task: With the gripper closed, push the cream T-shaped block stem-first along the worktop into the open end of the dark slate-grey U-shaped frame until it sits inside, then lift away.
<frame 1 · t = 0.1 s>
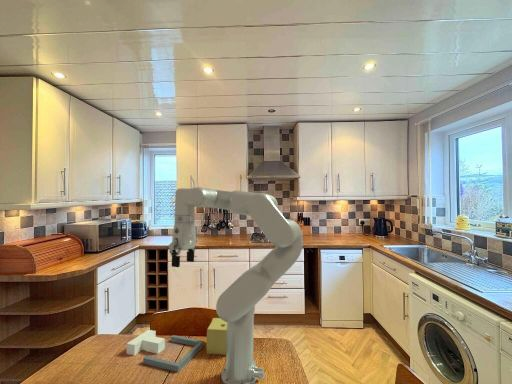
hand: (183, 264, 96), 37 cm above the table, tool pointing down, fingers open, 9 cm apart
t block: (149, 348, 103), on the table
cheese: (220, 348, 104), on the table
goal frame: (173, 353, 99), on the table
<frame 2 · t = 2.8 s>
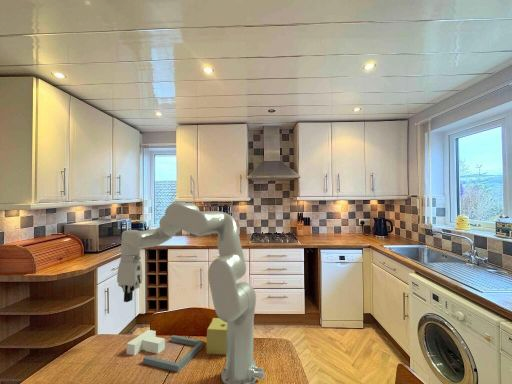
hand: (128, 300, 108), 18 cm above the table, tool pointing down, fingers closed
nothing on the table moved.
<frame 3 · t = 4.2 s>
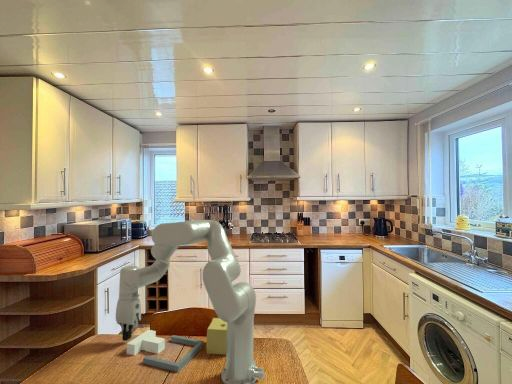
hand: (126, 339, 107), 2 cm above the table, tool pointing down, fingers closed
nothing on the table moved.
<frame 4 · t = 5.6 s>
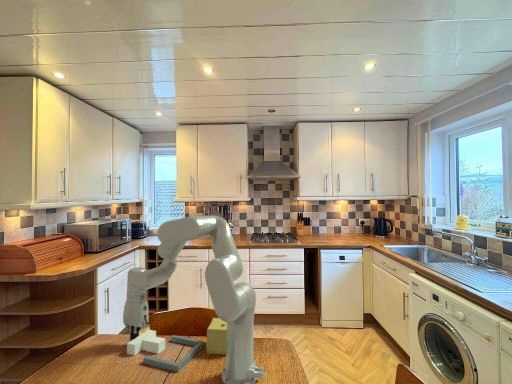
hand: (134, 341, 106), 1 cm above the table, tool pointing down, fingers closed
t block: (149, 348, 103), on the table, touching gripper
everything else where it was.
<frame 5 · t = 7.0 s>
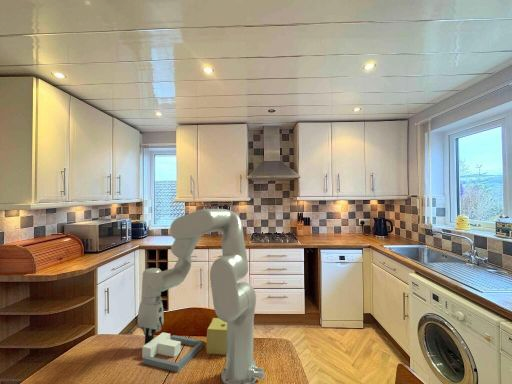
hand: (149, 343, 103), 2 cm above the table, tool pointing down, fingers closed
t block: (164, 351, 101), on the table, touching gripper
everything else where it was.
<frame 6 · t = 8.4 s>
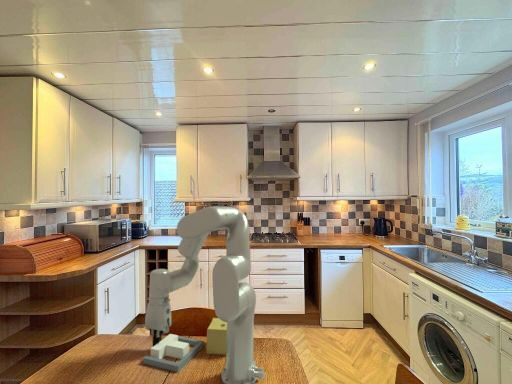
hand: (156, 345, 102), 2 cm above the table, tool pointing down, fingers closed
t block: (173, 353, 100), on the table, touching gripper
everything else where it was.
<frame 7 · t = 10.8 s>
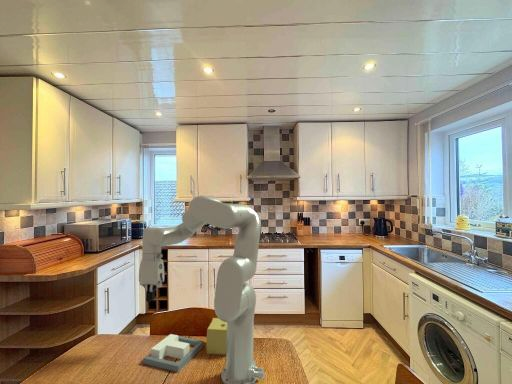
hand: (150, 300, 105), 19 cm above the table, tool pointing down, fingers closed
t block: (173, 353, 100), on the table
everything else where it was.
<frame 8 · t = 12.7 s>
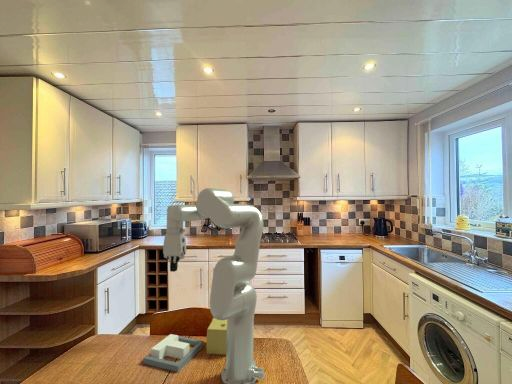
hand: (173, 270, 116), 29 cm above the table, tool pointing down, fingers closed
nothing on the table moved.
at the end: t block 0.9 cm off-centre on the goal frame, point 0.0 cm above the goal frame's base; t block tilted 0° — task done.
